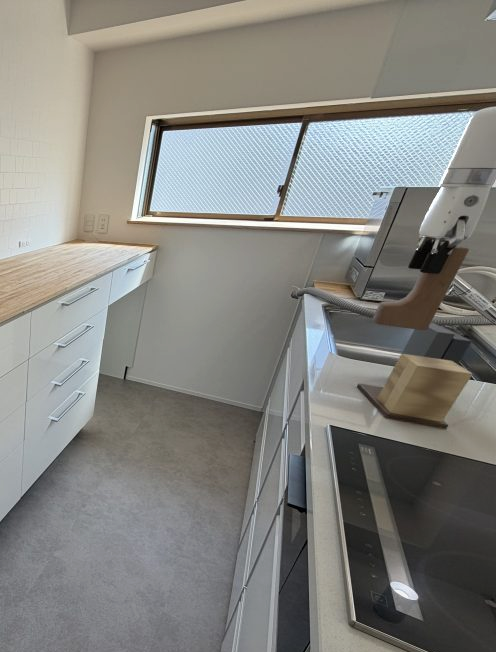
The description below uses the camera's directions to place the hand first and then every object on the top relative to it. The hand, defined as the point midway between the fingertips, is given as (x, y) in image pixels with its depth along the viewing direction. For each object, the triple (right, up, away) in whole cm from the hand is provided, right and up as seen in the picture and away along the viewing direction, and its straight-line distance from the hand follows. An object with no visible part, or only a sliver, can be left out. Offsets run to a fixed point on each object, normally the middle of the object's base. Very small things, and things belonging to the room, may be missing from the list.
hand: (423, 270), depth 91 cm
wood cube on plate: (-5, -30, 0) cm, 31 cm away
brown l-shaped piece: (0, -12, +6) cm, 13 cm away
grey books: (+8, -26, +10) cm, 29 cm away
